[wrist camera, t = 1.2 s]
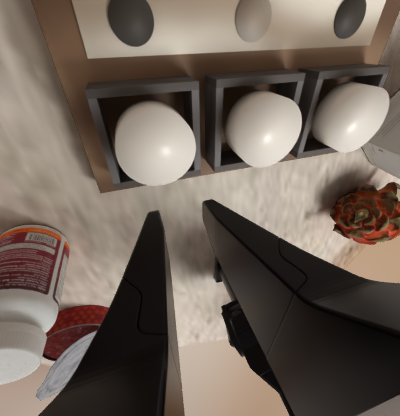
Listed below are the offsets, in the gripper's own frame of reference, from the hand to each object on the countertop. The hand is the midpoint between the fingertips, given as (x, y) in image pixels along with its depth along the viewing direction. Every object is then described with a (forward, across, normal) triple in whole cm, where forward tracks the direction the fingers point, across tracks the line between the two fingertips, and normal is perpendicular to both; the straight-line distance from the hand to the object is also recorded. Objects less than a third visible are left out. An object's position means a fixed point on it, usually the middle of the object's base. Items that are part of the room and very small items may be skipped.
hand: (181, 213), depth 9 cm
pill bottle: (+13, +13, +11) cm, 22 cm away
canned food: (+13, +14, +28) cm, 34 cm away
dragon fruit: (+13, -29, +15) cm, 35 cm away
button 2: (+9, 0, 0) cm, 9 cm away
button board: (+13, -8, -2) cm, 15 cm away
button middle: (+9, -8, 0) cm, 12 cm away
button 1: (+9, -16, 0) cm, 18 cm away
